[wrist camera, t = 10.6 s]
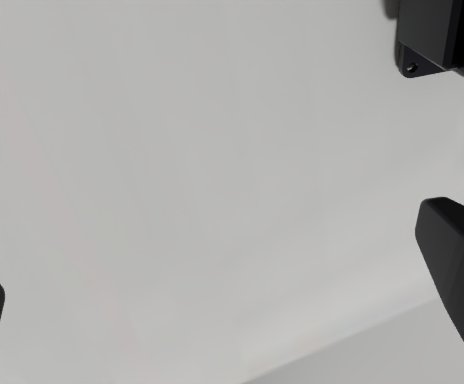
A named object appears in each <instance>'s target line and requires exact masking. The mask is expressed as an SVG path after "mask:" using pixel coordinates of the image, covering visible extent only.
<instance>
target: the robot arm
mask: <svg viewBox="0 0 464 384" xmlns="http://www.w3.org/2000/svg"><path fill="white" fill-rule="evenodd" d="M397 39H398V40H399V41H400V42H401V45H400V56H399V66H398V68H399V72H400V73H401V74H402V75H403V76H404V77H407V78H414V77H419V76H425V75H430V74H435V73H440V72H445V71H450V70H452V71H454V72H456V73H457V74H459V75H461V76H462V77H464V0H400V7H399V19H398V30H397ZM413 62H414V66H413V68H412V69H410V70H407V68H408V66H409V65H410V64H411V63H413ZM415 236H416V240H417V243H418V245H419V248H420V250H421V252H422V255H423V257H424V260H425V262H426V264H427V267H428V269H429V272H430V274H431V276H432V279H433V281H434V283H435V286H436V288H437V291H438V293H439V295H440V298H441V299H442V302H443V304H444V307H445V309H446V310H447V312H448V314H449V316H450V318H451V320H452V322H453V323H454V325H455V327H456V329H457V331H458V332H459V334H460V336H461V338H462V339H463V341H464V205H462V204H459V203H457V202H455V201H453V200H451V199H449V198H447V197H436V198H429V199H425V200H423V201H422V203H421V205H420V209H419V213H418V218H417V223H416V227H415ZM4 302H5V292H4V289H3V287H2V286H1V284H0V319H1V315H2V310H3V306H4Z"/></svg>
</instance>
